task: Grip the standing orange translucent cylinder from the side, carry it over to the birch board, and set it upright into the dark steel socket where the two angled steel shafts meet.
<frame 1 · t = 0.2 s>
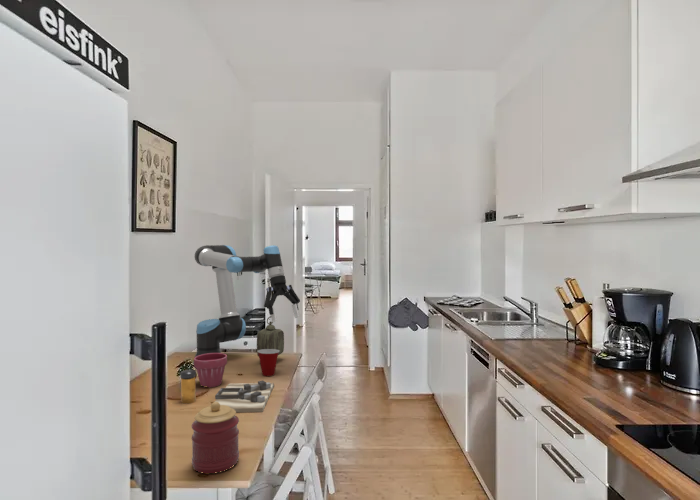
hand: (286, 319, 204), 28 cm above the table, tool tilted 20°, fingers open, 13 cm apart
plastic cup: (268, 374, 208), on the table
canister: (215, 464, 122), on the table
plant pot: (210, 385, 193), on the table
orange translucent cylinder: (188, 401, 172), on the table
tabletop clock: (271, 362, 230), on the table
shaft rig: (244, 398, 175), on the table
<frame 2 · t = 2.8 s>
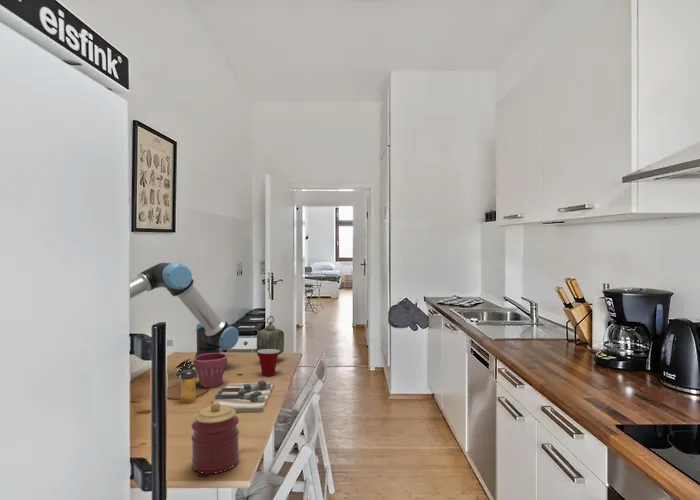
hand: (167, 346, 172), 22 cm above the table, tool horizontal, fingers open, 13 cm apart
nothing on the table moved.
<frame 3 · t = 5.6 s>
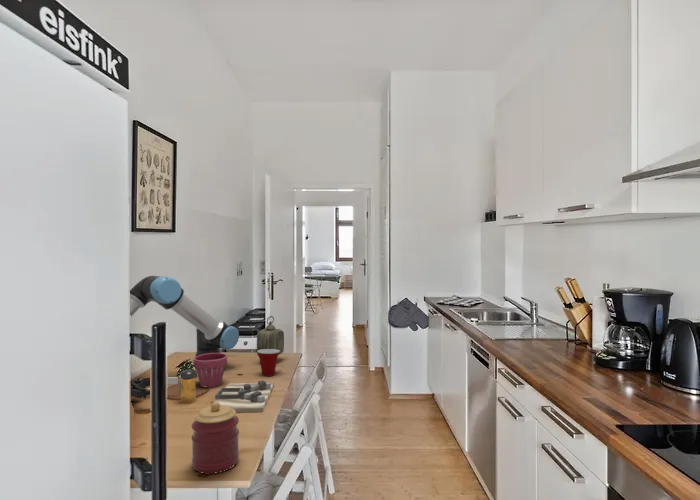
hand: (171, 385, 171), 6 cm above the table, tool horizontal, fingers open, 13 cm apart
nothing on the table moved.
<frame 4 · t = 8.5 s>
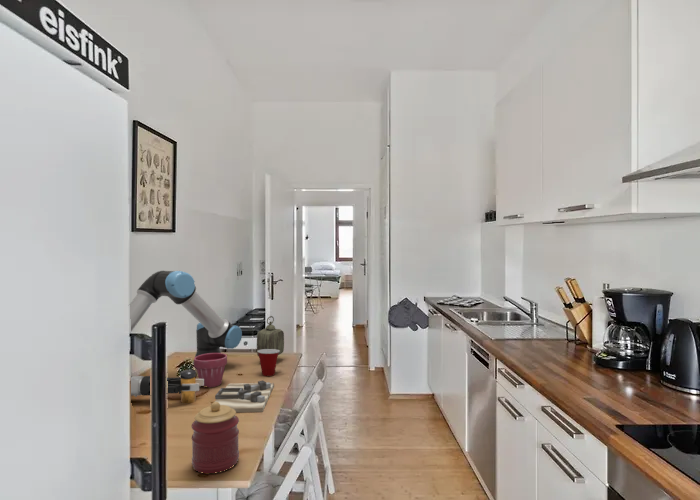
hand: (201, 384, 172), 7 cm above the table, tool horizontal, fingers closed on orange translucent cylinder, 5 cm apart
orange translucent cylinder: (188, 401, 172), on the table, touching gripper
everything else where it was.
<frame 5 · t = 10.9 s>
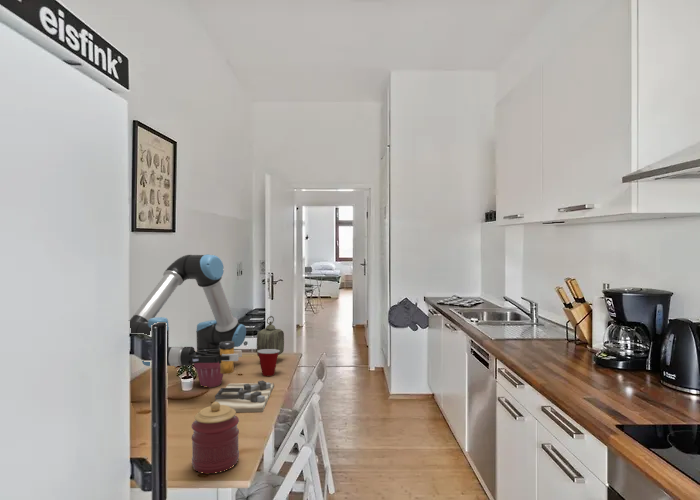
hand: (239, 355, 174), 18 cm above the table, tool horizontal, fingers closed on orange translucent cylinder, 5 cm apart
orange translucent cylinder: (227, 371, 174), point 11 cm above the table, touching gripper
everything else where it was.
when the fingers open (9 cm above the table, at t = 13.7 s): orange translucent cylinder drops 1 cm, resting on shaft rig.
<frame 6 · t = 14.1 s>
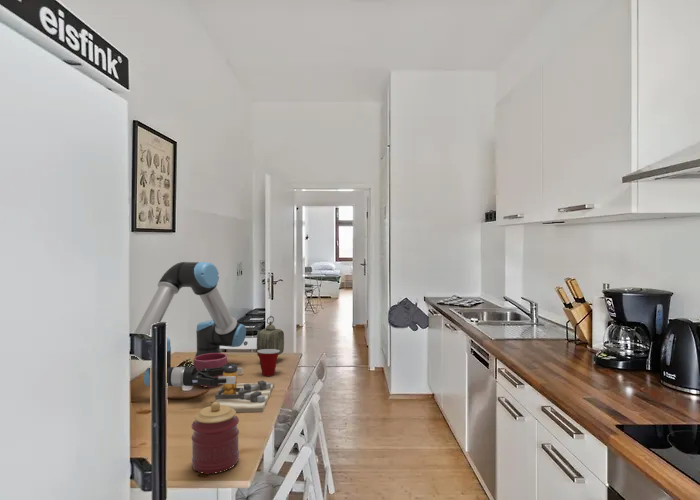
hand: (238, 375, 175), 9 cm above the table, tool horizontal, fingers open, 11 cm apart
orange translucent cylinder: (229, 394, 175), point 2 cm above the table, touching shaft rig
everything else where it was.
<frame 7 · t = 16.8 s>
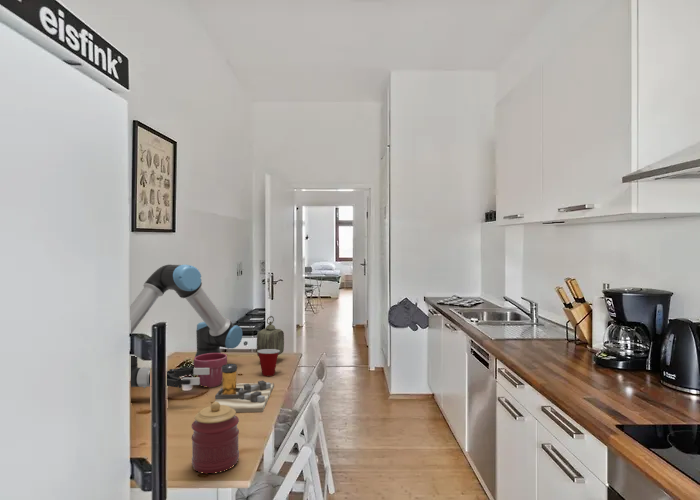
hand: (204, 376, 174), 10 cm above the table, tool horizontal, fingers open, 13 cm apart
nothing on the table moved.
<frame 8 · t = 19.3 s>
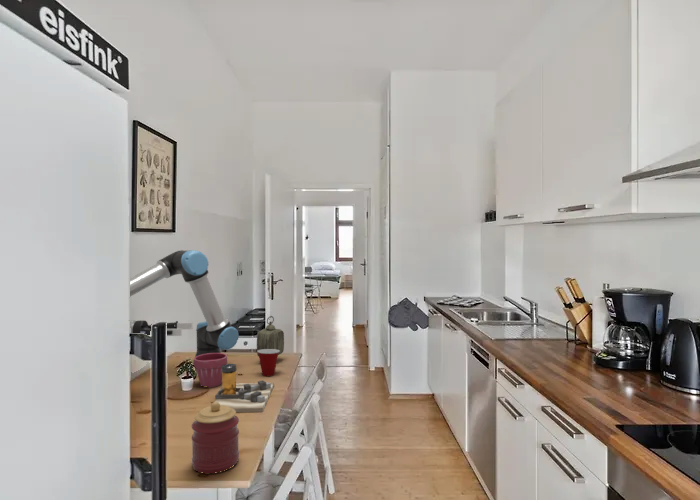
hand: (187, 328, 179), 28 cm above the table, tool horizontal, fingers open, 13 cm apart
nothing on the table moved.
at the end: orange translucent cylinder 0.0 cm from the target spot on the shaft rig, point 1.5 cm above the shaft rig's base; orange translucent cylinder tilted 1°; the gripper is holding nothing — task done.
